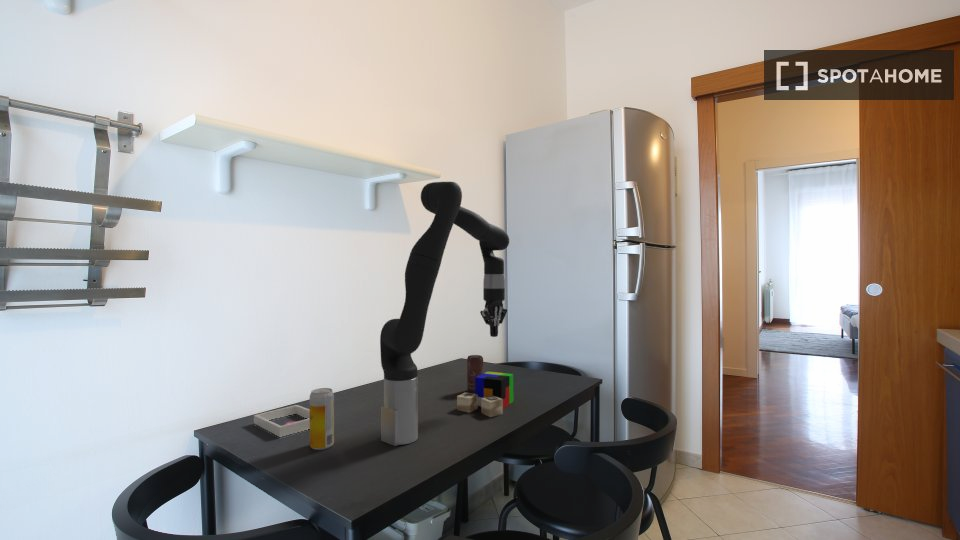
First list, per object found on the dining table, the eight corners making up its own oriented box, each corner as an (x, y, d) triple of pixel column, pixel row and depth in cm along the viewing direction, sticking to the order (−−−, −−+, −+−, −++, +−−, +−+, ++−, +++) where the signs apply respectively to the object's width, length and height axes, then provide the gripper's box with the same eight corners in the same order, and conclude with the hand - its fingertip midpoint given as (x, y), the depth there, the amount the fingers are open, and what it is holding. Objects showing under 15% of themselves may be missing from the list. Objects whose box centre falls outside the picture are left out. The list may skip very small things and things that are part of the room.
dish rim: (279, 440, 122) (279, 427, 123) (253, 426, 133) (253, 415, 133) (324, 426, 133) (324, 415, 133) (297, 415, 144) (297, 404, 144)
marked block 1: (469, 413, 145) (469, 397, 145) (457, 411, 147) (456, 395, 147) (477, 409, 149) (477, 393, 149) (465, 407, 152) (464, 392, 152)
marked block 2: (490, 417, 141) (490, 401, 141) (481, 413, 145) (481, 397, 145) (502, 414, 143) (502, 398, 143) (493, 410, 147) (493, 395, 148)
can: (482, 394, 166) (482, 357, 166) (466, 394, 167) (465, 357, 167) (484, 390, 172) (484, 354, 172) (468, 390, 173) (468, 354, 173)
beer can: (320, 441, 121) (320, 386, 121) (338, 444, 119) (338, 388, 119) (304, 449, 116) (304, 392, 116) (323, 453, 113) (322, 394, 114)
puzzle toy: (475, 406, 153) (475, 377, 153) (488, 398, 161) (488, 371, 162) (501, 410, 148) (501, 380, 148) (513, 402, 157) (513, 374, 157)
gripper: (490, 287, 148) (490, 339, 148) (513, 287, 158) (513, 335, 158) (473, 287, 153) (473, 337, 152) (497, 286, 163) (497, 333, 163)
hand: (494, 336), depth 155 cm, fingers closed
